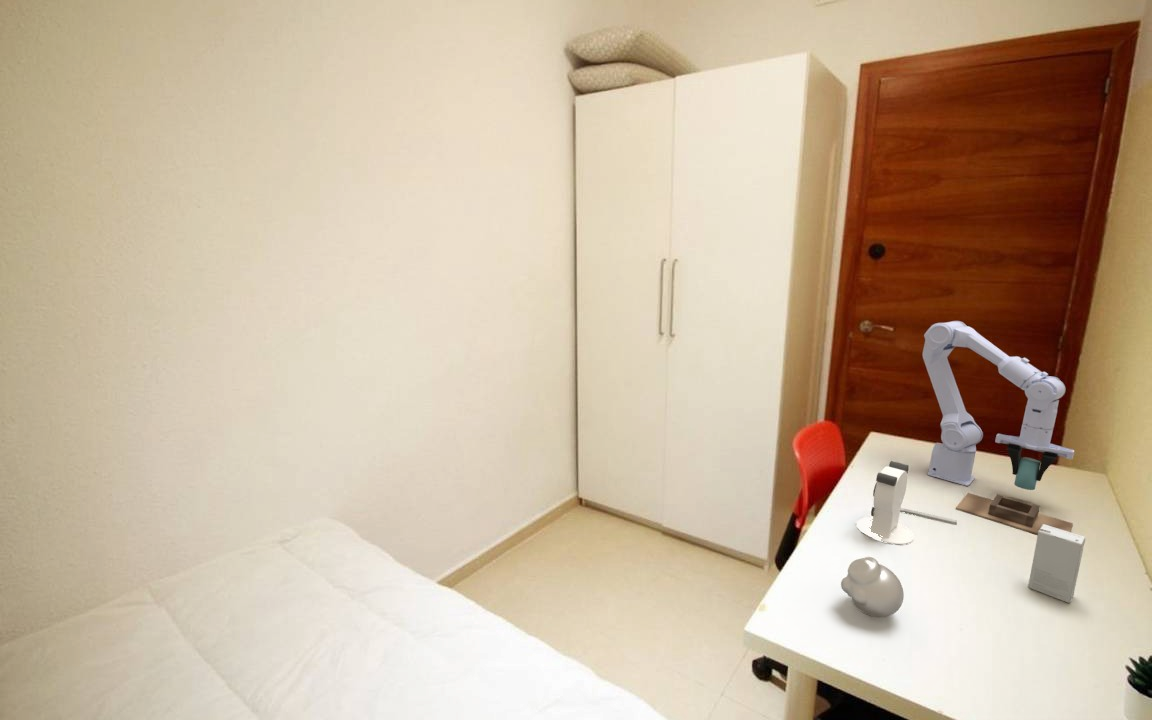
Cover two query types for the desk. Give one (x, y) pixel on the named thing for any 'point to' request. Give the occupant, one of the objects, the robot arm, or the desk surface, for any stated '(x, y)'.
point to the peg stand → (1010, 513)
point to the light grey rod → (929, 516)
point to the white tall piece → (890, 504)
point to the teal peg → (1027, 473)
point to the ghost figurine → (873, 588)
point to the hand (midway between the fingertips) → (1026, 476)
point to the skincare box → (1056, 562)
